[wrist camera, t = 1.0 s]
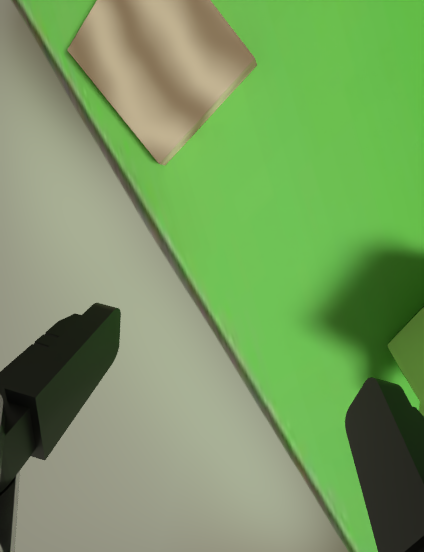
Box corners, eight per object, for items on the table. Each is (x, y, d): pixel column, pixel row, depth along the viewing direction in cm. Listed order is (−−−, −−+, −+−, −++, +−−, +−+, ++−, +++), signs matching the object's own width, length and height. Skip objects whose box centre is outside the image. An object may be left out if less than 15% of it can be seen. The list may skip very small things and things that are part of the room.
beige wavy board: (154, -68, 26) (146, -83, 24) (257, 65, 26) (255, 58, 25) (77, 56, 31) (67, 49, 29) (165, 165, 31) (159, 164, 30)
